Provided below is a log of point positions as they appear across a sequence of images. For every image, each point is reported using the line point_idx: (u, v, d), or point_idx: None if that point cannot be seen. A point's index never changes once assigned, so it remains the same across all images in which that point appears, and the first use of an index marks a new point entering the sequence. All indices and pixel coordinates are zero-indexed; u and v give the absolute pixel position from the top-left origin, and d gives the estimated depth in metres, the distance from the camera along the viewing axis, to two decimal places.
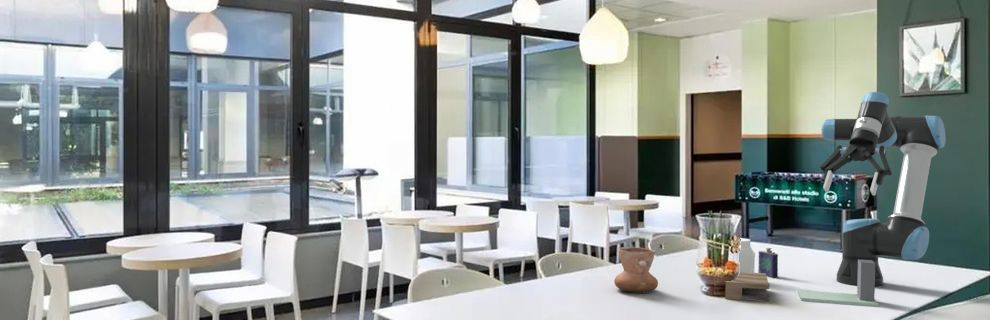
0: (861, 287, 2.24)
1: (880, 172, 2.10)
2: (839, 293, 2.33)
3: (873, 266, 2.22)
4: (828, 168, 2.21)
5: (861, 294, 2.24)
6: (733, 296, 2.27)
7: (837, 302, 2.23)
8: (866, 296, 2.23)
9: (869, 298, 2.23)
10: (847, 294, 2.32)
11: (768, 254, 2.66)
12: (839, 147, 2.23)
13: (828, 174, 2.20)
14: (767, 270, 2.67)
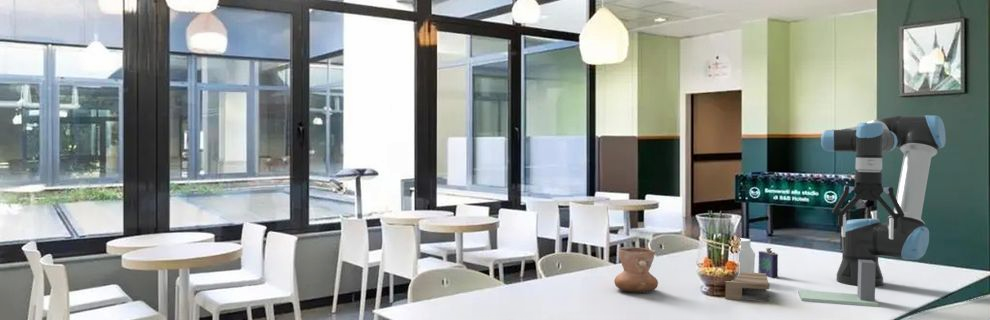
0: (861, 287, 2.24)
1: None
2: (839, 293, 2.33)
3: (873, 266, 2.22)
4: (842, 214, 2.26)
5: (861, 294, 2.24)
6: (733, 296, 2.27)
7: (837, 302, 2.23)
8: (866, 296, 2.23)
9: (869, 298, 2.23)
10: (847, 294, 2.32)
11: (768, 254, 2.66)
12: (847, 188, 2.26)
13: (844, 221, 2.26)
14: (767, 270, 2.67)
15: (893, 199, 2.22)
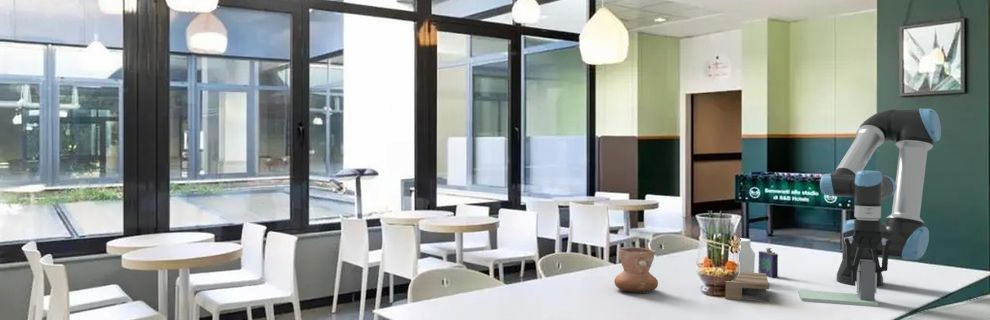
0: (861, 287, 2.24)
1: (878, 272, 2.24)
2: (839, 293, 2.33)
3: (873, 265, 2.22)
4: (856, 268, 2.25)
5: (861, 294, 2.24)
6: (733, 296, 2.27)
7: (837, 302, 2.23)
8: (866, 296, 2.23)
9: (869, 298, 2.23)
10: (847, 294, 2.32)
11: (768, 254, 2.66)
12: (847, 240, 2.26)
13: (858, 276, 2.25)
14: (767, 270, 2.67)
15: (885, 252, 2.23)
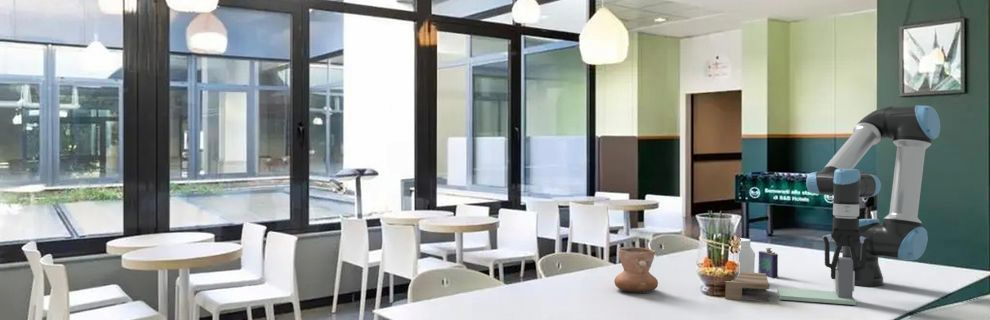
0: (839, 285, 2.24)
1: (855, 270, 2.24)
2: (818, 291, 2.34)
3: (851, 263, 2.23)
4: (834, 266, 2.26)
5: (839, 291, 2.24)
6: (733, 296, 2.27)
7: (815, 300, 2.23)
8: (844, 294, 2.23)
9: (847, 295, 2.23)
10: (826, 292, 2.32)
11: (768, 254, 2.66)
12: (826, 239, 2.26)
13: (837, 274, 2.25)
14: (767, 270, 2.67)
15: (863, 250, 2.23)
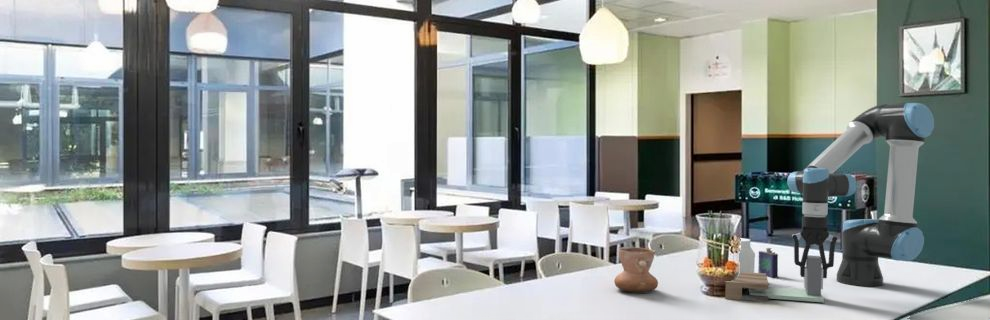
0: (808, 282, 2.27)
1: None
2: (788, 288, 2.36)
3: (819, 261, 2.25)
4: (803, 264, 2.28)
5: (808, 289, 2.27)
6: (733, 296, 2.27)
7: (784, 297, 2.26)
8: (812, 291, 2.26)
9: (816, 293, 2.26)
10: (796, 289, 2.35)
11: (768, 254, 2.66)
12: (795, 237, 2.29)
13: (806, 272, 2.28)
14: (767, 270, 2.67)
15: (832, 248, 2.26)
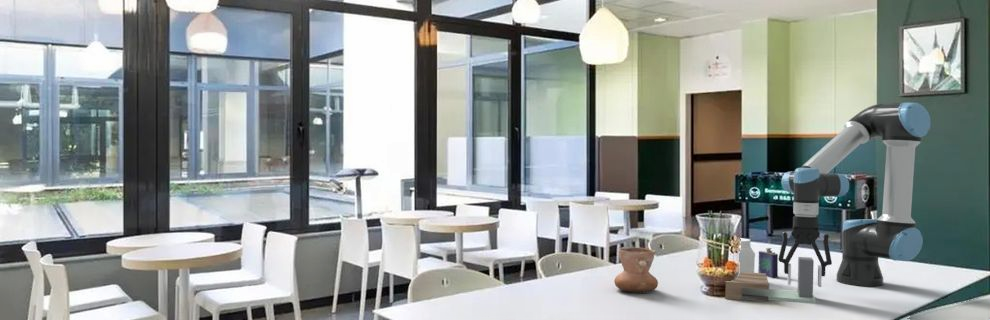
0: (800, 284, 2.27)
1: (823, 266, 2.27)
2: (781, 290, 2.37)
3: (811, 263, 2.26)
4: (787, 261, 2.30)
5: (800, 291, 2.28)
6: (733, 296, 2.27)
7: (776, 299, 2.27)
8: (804, 293, 2.27)
9: (807, 295, 2.27)
10: (788, 291, 2.36)
11: (768, 254, 2.66)
12: (785, 235, 2.30)
13: (789, 269, 2.30)
14: (767, 270, 2.67)
15: (826, 246, 2.26)
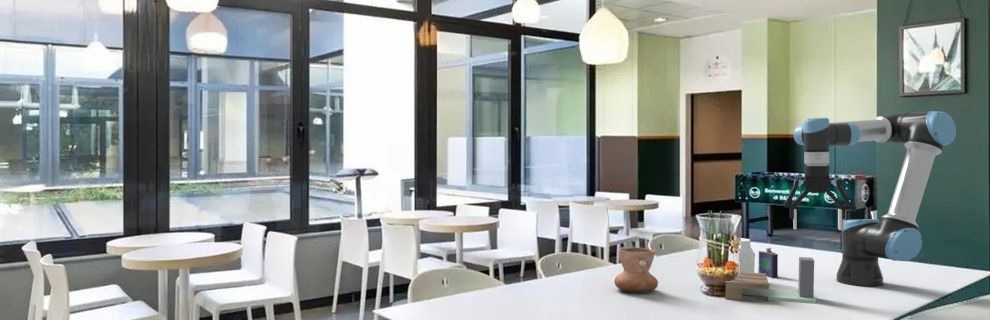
0: (801, 284, 2.27)
1: (843, 209, 2.29)
2: (781, 290, 2.37)
3: (812, 263, 2.26)
4: (793, 207, 2.34)
5: (801, 291, 2.27)
6: (733, 296, 2.27)
7: (777, 299, 2.26)
8: (805, 293, 2.27)
9: (808, 295, 2.27)
10: (789, 291, 2.36)
11: (768, 254, 2.66)
12: (797, 182, 2.33)
13: (795, 214, 2.34)
14: (767, 270, 2.67)
15: (841, 191, 2.29)
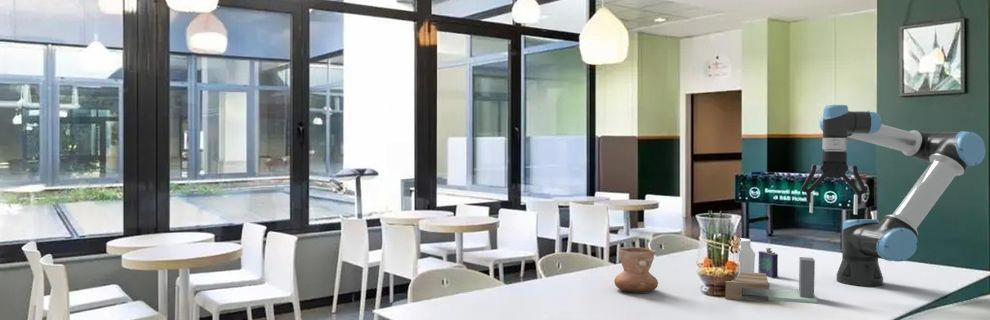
0: (801, 284, 2.27)
1: (859, 194, 2.36)
2: (782, 290, 2.37)
3: (812, 263, 2.26)
4: (810, 191, 2.40)
5: (801, 291, 2.27)
6: (733, 296, 2.27)
7: (777, 299, 2.26)
8: (806, 293, 2.27)
9: (809, 295, 2.27)
10: (790, 291, 2.36)
11: (768, 254, 2.66)
12: (815, 167, 2.40)
13: (812, 198, 2.40)
14: (767, 270, 2.67)
15: (857, 177, 2.36)
